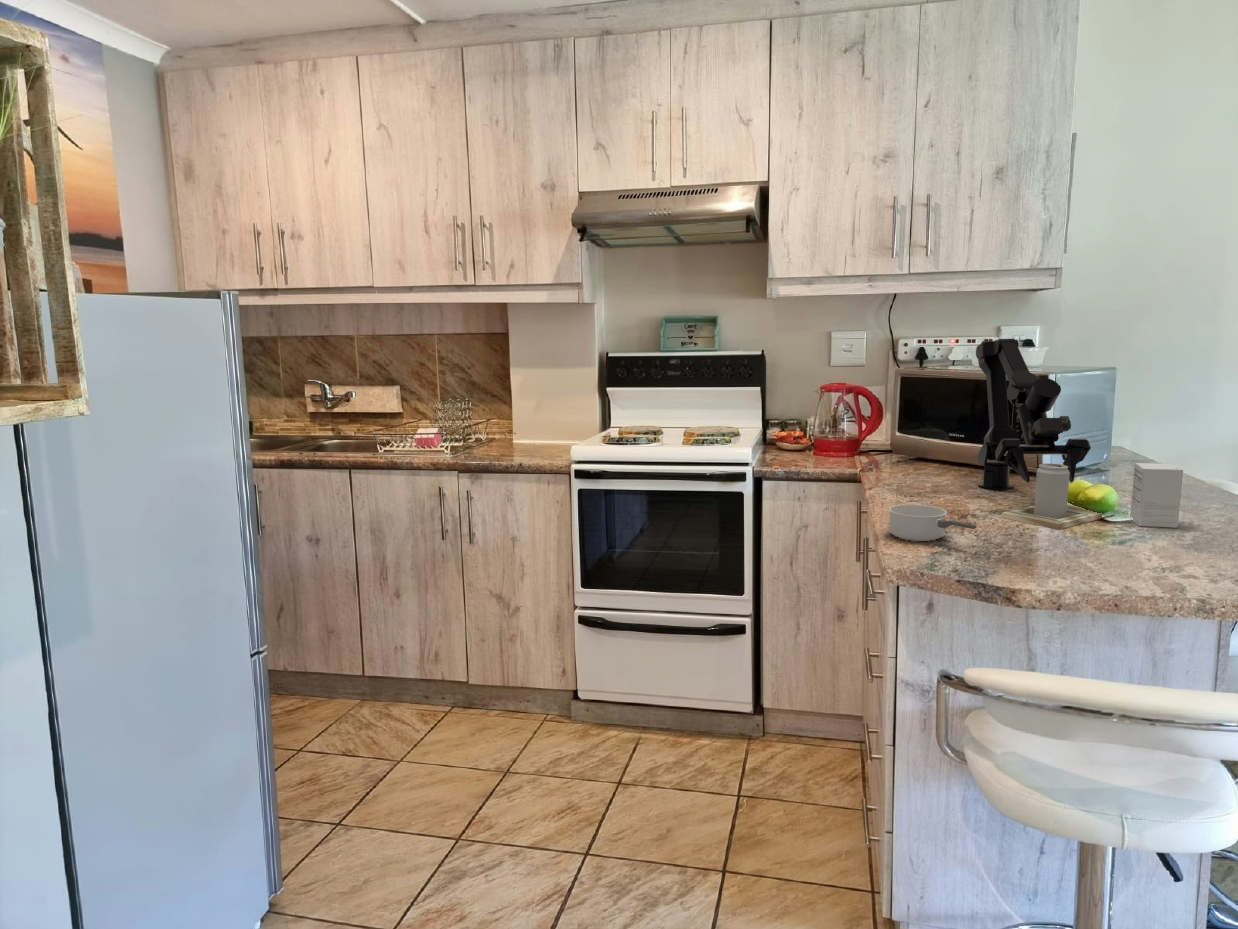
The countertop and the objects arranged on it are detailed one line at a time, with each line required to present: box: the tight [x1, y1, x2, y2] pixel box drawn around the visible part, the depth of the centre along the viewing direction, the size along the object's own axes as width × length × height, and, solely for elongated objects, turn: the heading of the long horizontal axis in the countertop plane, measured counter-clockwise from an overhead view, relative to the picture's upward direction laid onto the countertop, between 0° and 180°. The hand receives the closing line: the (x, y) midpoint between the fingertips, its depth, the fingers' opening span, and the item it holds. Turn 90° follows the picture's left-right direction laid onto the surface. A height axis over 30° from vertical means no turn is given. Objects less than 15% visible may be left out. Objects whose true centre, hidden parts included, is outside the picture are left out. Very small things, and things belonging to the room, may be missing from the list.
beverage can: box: [1033, 463, 1070, 519], centre depth 180 cm, size 6×6×12 cm
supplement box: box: [1129, 462, 1184, 529], centre depth 175 cm, size 7×7×13 cm
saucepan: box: [887, 504, 977, 542], centre depth 164 cm, size 12×20×6 cm, turn 25°
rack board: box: [1001, 501, 1102, 530], centre depth 183 cm, size 22×13×1 cm, turn 122°
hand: (1050, 481), depth 181 cm, fingers open, 9 cm apart
